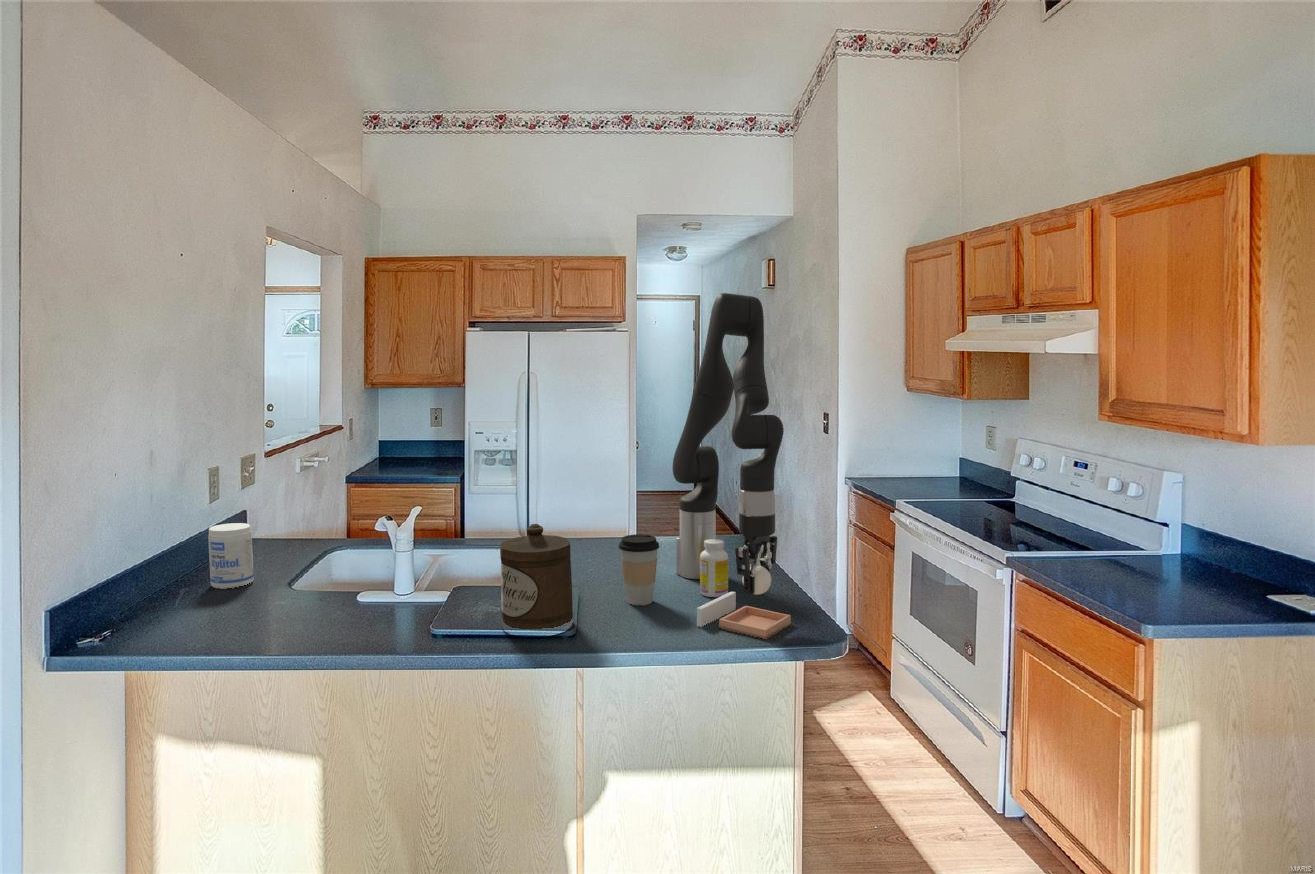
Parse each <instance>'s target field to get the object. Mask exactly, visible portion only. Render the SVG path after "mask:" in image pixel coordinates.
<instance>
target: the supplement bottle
mask: <svg viewBox="0 0 1315 874" xmlns="http://www.w3.org/2000/svg"><path fill="white" fill-rule="evenodd" d="M704 546H705V550H704V551H703V552H702V553H701V554H700V579H699V580H700V581H699V583H700V584H699V585H700V587H699V588H700V589H699V590H700V591H699V592H700V595H703V596H704V597H708V598H719V597H721V596H723V595H725V594H727V593H729V554H728V553H727V552H726V551H725V550H724V547H725V541H724V540H722V539H718V538H715V539H708V540H705V541H704Z"/></svg>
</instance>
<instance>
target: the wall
mask: <svg viewBox="0 0 1315 874" xmlns="http://www.w3.org/2000/svg"><path fill="white" fill-rule="evenodd" d="M736 593H737V592H736V591H730V592H729V591H728V593H727V594H725V595H723V596H721V597H716V598H715V599H712V600H711V601H709V602H706V603H704V604H703V605H701V606H698V607H696V627H698V626H700V627H699V628H703V627H705V626H707V625H708V624H707V623H709V624H711V623H713V622H715V621H717V620H719V619H721V618H723V617H725V616H726V615H729V614H731V613H733V612H734V611H736V609H737V606H736V605H737V601H736V600H737V599H736V598H737V594H736ZM733 610H734V611H733ZM725 614H726V615H725ZM724 615H725V616H724ZM722 616H723V617H722ZM716 619H717V620H716ZM714 620H715V621H714ZM712 621H713V622H712ZM710 622H711V623H710ZM706 624H707V625H706ZM704 625H705V626H704ZM702 626H703V627H702Z"/></svg>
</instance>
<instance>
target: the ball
mask: <svg viewBox="0 0 1315 874" xmlns="http://www.w3.org/2000/svg"><path fill="white" fill-rule="evenodd" d="M750 570H751V566H750ZM770 573H771V572H770ZM770 573H769V572H768V570H767V569H766V568H764V567H762V566H759V565H758V566H757V567H756V570H755V574H754V577H755V592H754V594H753V595H762V594H764V593H766V592H767V591H768V590H770V587H771V584H772V576H771V574H770ZM741 581H742V585H743V586H744V577H743V576H742V580H741Z"/></svg>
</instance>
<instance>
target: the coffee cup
mask: <svg viewBox="0 0 1315 874" xmlns="http://www.w3.org/2000/svg"><path fill="white" fill-rule="evenodd" d="M617 548H618V549H619V550H620V552H621V565H622V566H621V567H622V575H623V582H624V588H625V596H626V603H627V604H629V605H631V604H632V606H638V605H641V606H647V605H650V604H652V603H653V600H654V589H655V582H656V575H657V565H658V549H660V544H659V542H658V541H657V537H656V536H653V535H652V534H651V535H650V534H642V533H641V534H640V533H639V534H638V533H637V534H635V533H634V534H629V535H625V536H623V537H622V538H621V541H619V543H618V547H617Z"/></svg>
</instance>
